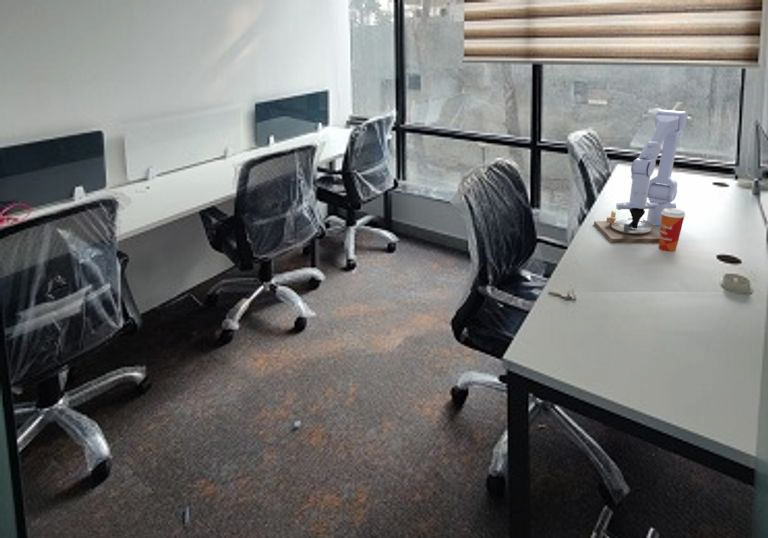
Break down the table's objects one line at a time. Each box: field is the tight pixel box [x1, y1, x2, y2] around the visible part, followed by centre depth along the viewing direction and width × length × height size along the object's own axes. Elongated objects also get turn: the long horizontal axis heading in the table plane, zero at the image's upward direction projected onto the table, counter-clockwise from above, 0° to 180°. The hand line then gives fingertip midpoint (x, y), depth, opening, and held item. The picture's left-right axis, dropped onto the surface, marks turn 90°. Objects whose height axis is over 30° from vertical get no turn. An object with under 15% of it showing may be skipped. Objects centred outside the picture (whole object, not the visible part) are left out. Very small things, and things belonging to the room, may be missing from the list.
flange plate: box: [605, 216, 651, 234], centre depth 231 cm, size 16×16×4 cm
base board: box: [593, 220, 660, 244], centre depth 232 cm, size 21×21×2 cm
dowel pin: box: [610, 210, 617, 225], centre depth 237 cm, size 2×2×5 cm
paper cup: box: [658, 207, 686, 253], centre depth 214 cm, size 8×8×14 cm
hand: (634, 227), depth 227 cm, fingers closed, pressing on flange plate
